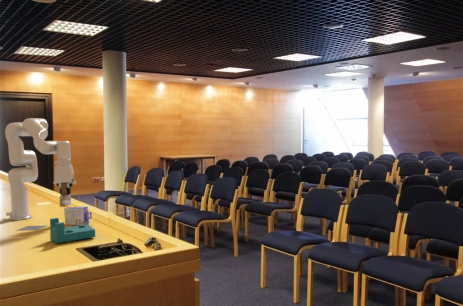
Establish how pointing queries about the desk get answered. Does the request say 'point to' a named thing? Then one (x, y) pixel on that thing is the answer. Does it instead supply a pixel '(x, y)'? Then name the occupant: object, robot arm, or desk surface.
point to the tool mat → (31, 228)
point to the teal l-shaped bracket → (69, 232)
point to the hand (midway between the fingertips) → (65, 194)
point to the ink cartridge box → (77, 215)
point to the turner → (64, 196)
